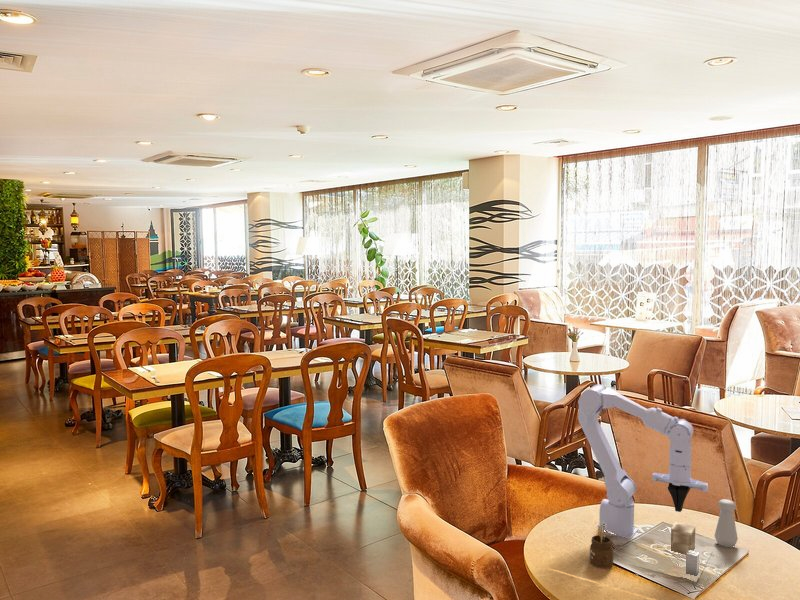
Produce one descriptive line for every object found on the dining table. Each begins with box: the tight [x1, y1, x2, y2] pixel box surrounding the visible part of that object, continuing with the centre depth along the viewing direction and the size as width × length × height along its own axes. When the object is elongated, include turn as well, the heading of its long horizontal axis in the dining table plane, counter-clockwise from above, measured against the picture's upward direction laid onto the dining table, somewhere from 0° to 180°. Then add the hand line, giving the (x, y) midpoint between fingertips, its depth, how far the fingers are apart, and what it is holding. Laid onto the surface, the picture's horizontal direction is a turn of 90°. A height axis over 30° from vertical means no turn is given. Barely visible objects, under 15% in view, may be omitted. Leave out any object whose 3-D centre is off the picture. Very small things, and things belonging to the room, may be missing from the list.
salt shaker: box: [714, 499, 739, 548], centre depth 182 cm, size 6×6×13 cm
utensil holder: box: [589, 523, 614, 569], centre depth 172 cm, size 6×6×12 cm
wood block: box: [670, 521, 696, 555], centre depth 179 cm, size 5×5×7 cm
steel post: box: [686, 550, 699, 576], centre depth 166 cm, size 3×3×6 cm
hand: (678, 510), depth 183 cm, fingers closed
